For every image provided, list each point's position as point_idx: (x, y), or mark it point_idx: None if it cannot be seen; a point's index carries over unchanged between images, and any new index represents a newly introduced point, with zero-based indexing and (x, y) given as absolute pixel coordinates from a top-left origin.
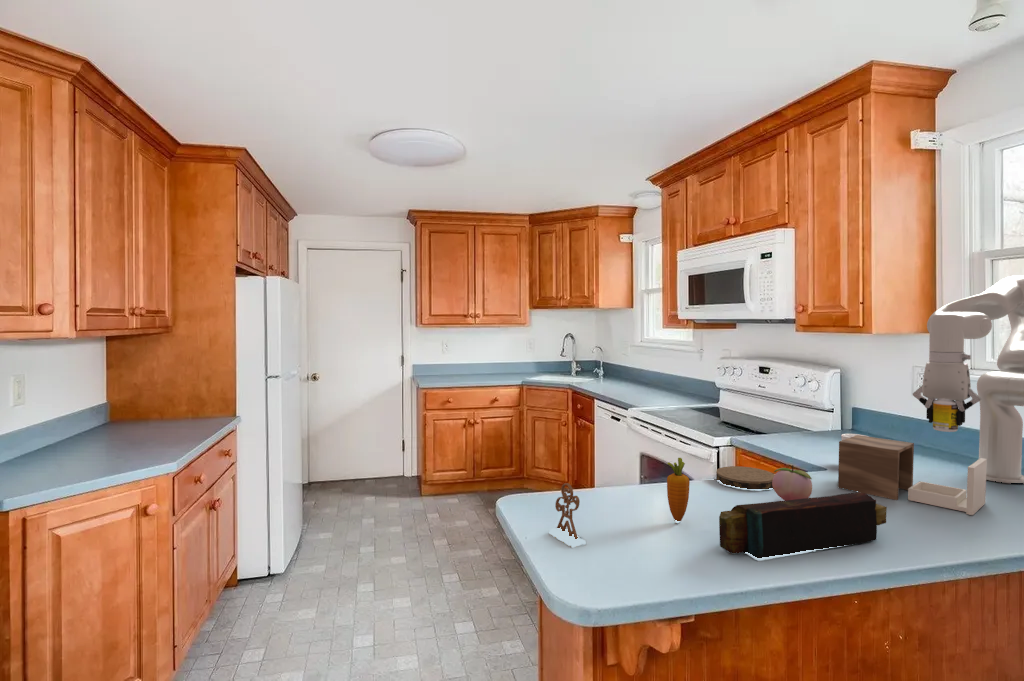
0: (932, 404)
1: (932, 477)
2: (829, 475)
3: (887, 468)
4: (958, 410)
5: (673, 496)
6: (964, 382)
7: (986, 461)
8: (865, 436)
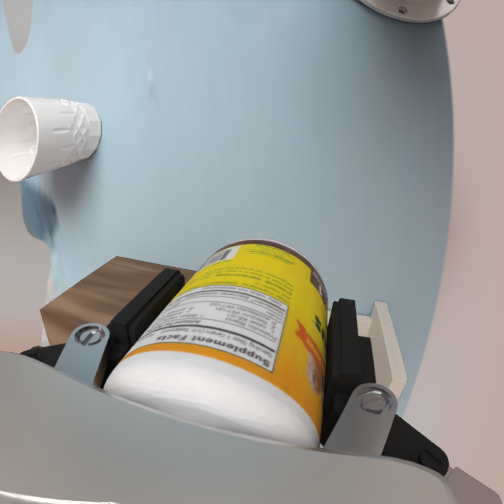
0: (105, 359)
1: (249, 78)
2: (78, 262)
3: None
4: (323, 431)
5: None
6: None
7: (405, 376)
8: (58, 320)
